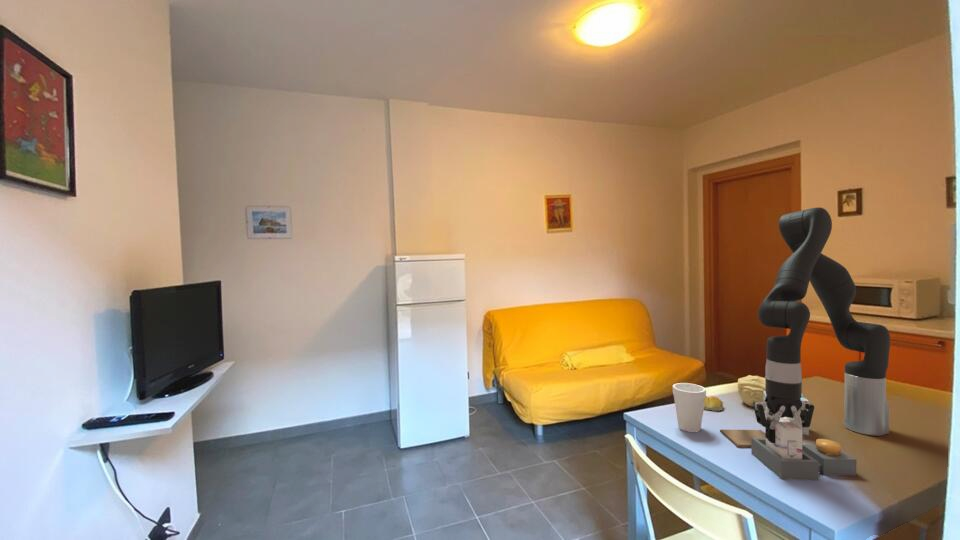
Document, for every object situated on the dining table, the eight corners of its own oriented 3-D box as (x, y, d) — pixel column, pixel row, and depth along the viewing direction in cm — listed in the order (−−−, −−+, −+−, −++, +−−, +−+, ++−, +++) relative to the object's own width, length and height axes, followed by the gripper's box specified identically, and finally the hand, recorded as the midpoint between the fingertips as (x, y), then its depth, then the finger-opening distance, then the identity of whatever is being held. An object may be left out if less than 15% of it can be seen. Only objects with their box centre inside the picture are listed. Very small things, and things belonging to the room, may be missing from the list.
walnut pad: (760, 432, 125) (760, 429, 125) (782, 448, 115) (782, 445, 115) (720, 432, 126) (720, 429, 126) (737, 447, 116) (737, 444, 116)
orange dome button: (830, 459, 106) (830, 438, 106) (845, 469, 102) (845, 447, 101) (811, 459, 107) (811, 438, 107) (825, 469, 102) (825, 447, 102)
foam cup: (667, 422, 134) (667, 383, 133) (694, 420, 134) (693, 382, 134) (683, 435, 124) (683, 393, 124) (712, 433, 125) (712, 391, 124)
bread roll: (695, 401, 152) (695, 391, 152) (723, 406, 147) (723, 395, 147) (693, 409, 145) (693, 398, 145) (722, 413, 140) (722, 402, 140)
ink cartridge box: (764, 457, 110) (764, 404, 109) (784, 458, 109) (785, 404, 108) (780, 474, 102) (781, 416, 101) (803, 475, 101) (803, 417, 100)
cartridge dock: (825, 455, 110) (825, 438, 110) (864, 480, 98) (865, 462, 97) (751, 453, 112) (751, 437, 112) (781, 479, 99) (781, 461, 99)
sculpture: (734, 405, 147) (734, 376, 146) (743, 397, 155) (743, 369, 154) (772, 414, 138) (772, 383, 138) (780, 404, 146) (780, 375, 146)
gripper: (802, 373, 107) (802, 435, 108) (745, 373, 109) (745, 435, 109) (823, 382, 100) (823, 449, 101) (762, 382, 101) (762, 448, 102)
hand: (782, 441), depth 105 cm, fingers closed on ink cartridge box, 5 cm apart
